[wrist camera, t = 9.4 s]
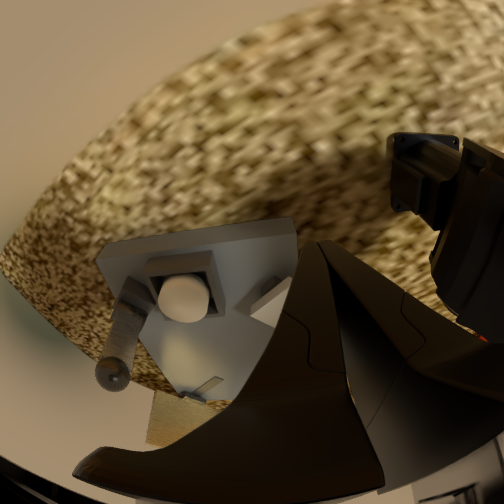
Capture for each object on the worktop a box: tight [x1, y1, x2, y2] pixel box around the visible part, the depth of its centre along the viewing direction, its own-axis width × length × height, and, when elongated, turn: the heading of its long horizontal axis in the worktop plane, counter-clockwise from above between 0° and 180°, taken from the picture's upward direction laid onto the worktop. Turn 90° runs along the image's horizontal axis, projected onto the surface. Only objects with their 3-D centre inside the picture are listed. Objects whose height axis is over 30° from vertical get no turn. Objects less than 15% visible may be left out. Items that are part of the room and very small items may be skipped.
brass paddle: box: [145, 390, 221, 448], centre depth 29 cm, size 3×10×8 cm, turn 53°
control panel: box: [95, 217, 298, 400], centre depth 27 cm, size 16×24×4 cm, turn 8°
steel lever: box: [95, 298, 148, 392], centre depth 17 cm, size 2×3×9 cm
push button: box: [158, 273, 210, 323], centre depth 20 cm, size 4×4×2 cm
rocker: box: [250, 276, 292, 328], centre depth 21 cm, size 4×3×1 cm, turn 143°
